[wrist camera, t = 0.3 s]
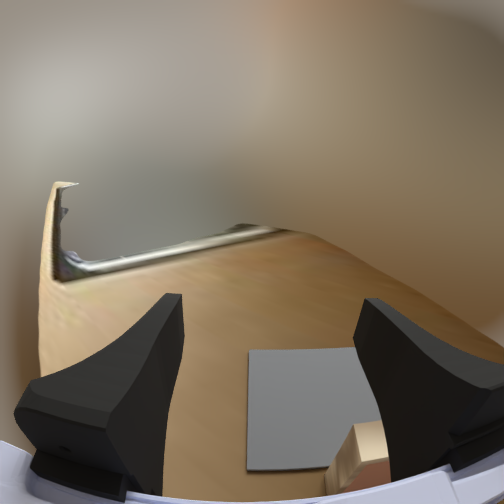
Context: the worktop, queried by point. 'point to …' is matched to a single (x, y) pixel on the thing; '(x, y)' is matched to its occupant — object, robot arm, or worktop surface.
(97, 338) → the worktop surface
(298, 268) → the worktop surface
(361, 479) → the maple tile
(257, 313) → the worktop surface
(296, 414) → the mat
